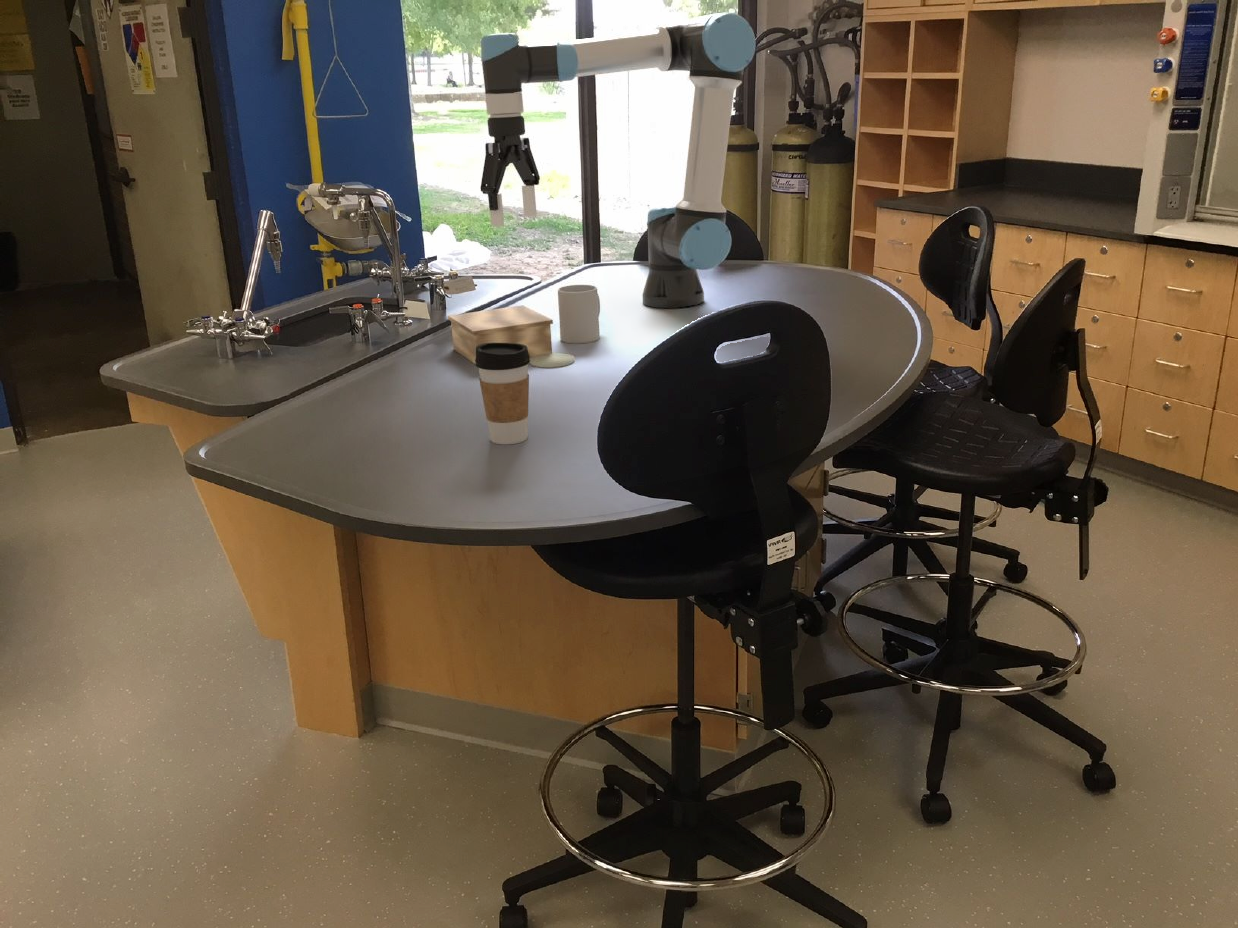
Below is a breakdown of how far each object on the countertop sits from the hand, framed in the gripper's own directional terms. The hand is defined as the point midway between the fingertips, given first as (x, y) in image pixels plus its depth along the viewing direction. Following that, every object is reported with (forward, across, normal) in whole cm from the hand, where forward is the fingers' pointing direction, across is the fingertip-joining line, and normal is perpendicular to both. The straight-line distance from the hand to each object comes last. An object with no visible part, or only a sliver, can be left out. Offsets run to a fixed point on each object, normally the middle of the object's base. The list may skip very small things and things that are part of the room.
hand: (514, 221), depth 215 cm
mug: (+25, -2, +14) cm, 29 cm away
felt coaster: (+25, +18, +17) cm, 35 cm away
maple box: (+25, +14, +3) cm, 28 cm away
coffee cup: (+25, +60, +32) cm, 73 cm away
